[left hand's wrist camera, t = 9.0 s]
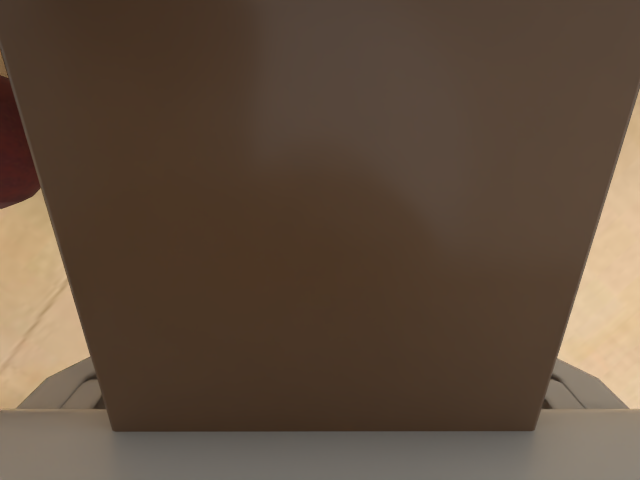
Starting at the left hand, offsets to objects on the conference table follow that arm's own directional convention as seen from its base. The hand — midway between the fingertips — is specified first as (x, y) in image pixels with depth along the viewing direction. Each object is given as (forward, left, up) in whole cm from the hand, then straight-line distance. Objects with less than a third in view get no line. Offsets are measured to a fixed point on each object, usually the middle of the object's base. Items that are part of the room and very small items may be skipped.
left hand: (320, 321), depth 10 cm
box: (-2, +9, -4) cm, 10 cm away
